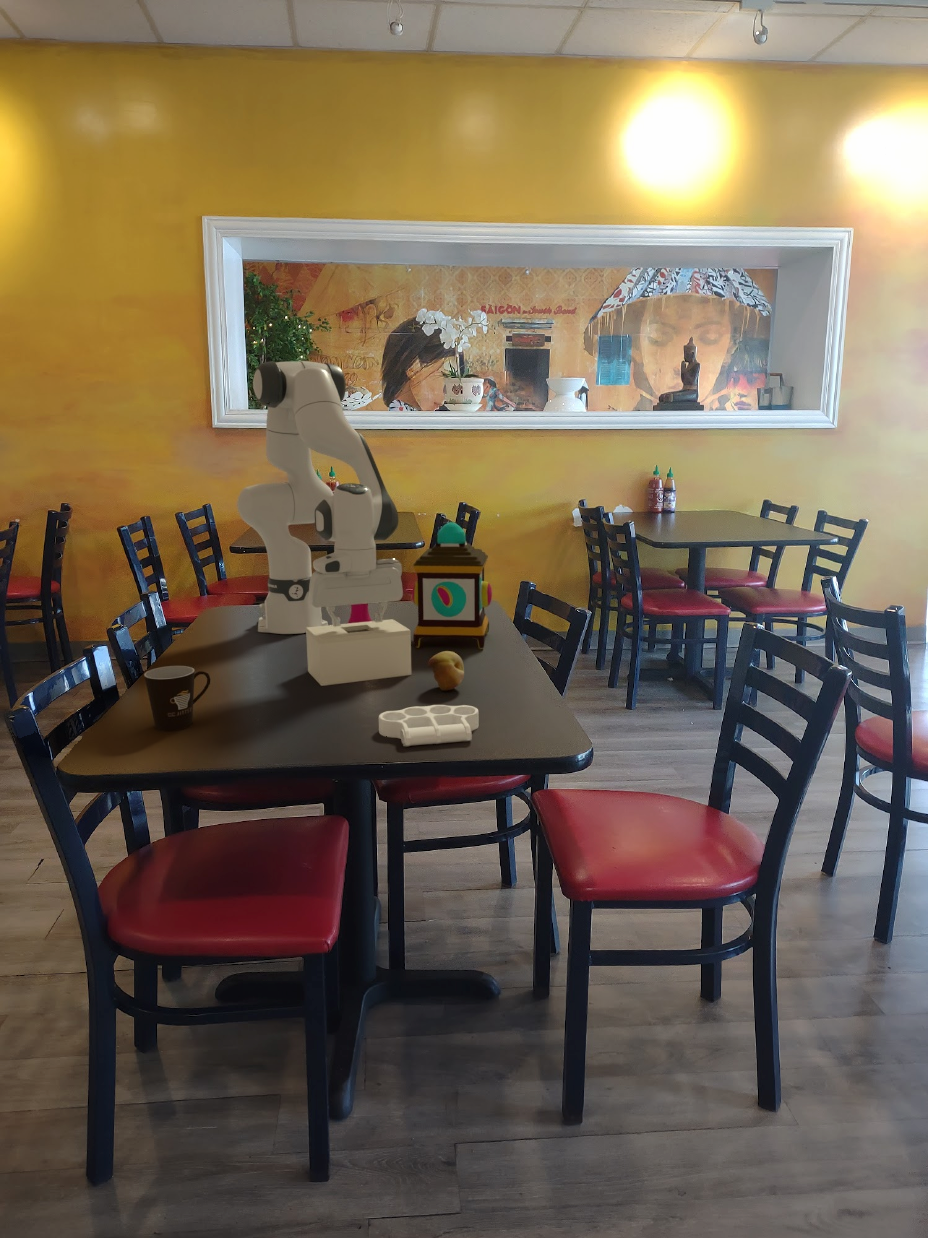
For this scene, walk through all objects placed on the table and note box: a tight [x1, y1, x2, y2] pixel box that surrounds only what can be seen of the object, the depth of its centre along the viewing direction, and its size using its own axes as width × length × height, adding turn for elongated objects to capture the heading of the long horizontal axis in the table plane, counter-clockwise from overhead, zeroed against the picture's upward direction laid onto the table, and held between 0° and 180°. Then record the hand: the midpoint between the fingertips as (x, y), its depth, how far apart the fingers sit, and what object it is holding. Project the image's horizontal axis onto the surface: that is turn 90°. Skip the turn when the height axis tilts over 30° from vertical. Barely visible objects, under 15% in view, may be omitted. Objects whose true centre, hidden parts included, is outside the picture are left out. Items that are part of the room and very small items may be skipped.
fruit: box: [427, 650, 465, 691], centre depth 176 cm, size 8×8×8 cm
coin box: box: [305, 618, 412, 687], centre depth 188 cm, size 12×20×10 cm, turn 113°
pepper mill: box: [347, 603, 373, 624], centre depth 206 cm, size 7×7×20 cm
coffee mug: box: [143, 665, 211, 732], centre depth 156 cm, size 12×9×10 cm
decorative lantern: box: [411, 521, 493, 650], centre depth 214 cm, size 20×20×30 cm
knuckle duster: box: [378, 704, 480, 747], centre depth 152 cm, size 3×18×15 cm
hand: (357, 623), depth 186 cm, fingers open, 8 cm apart
